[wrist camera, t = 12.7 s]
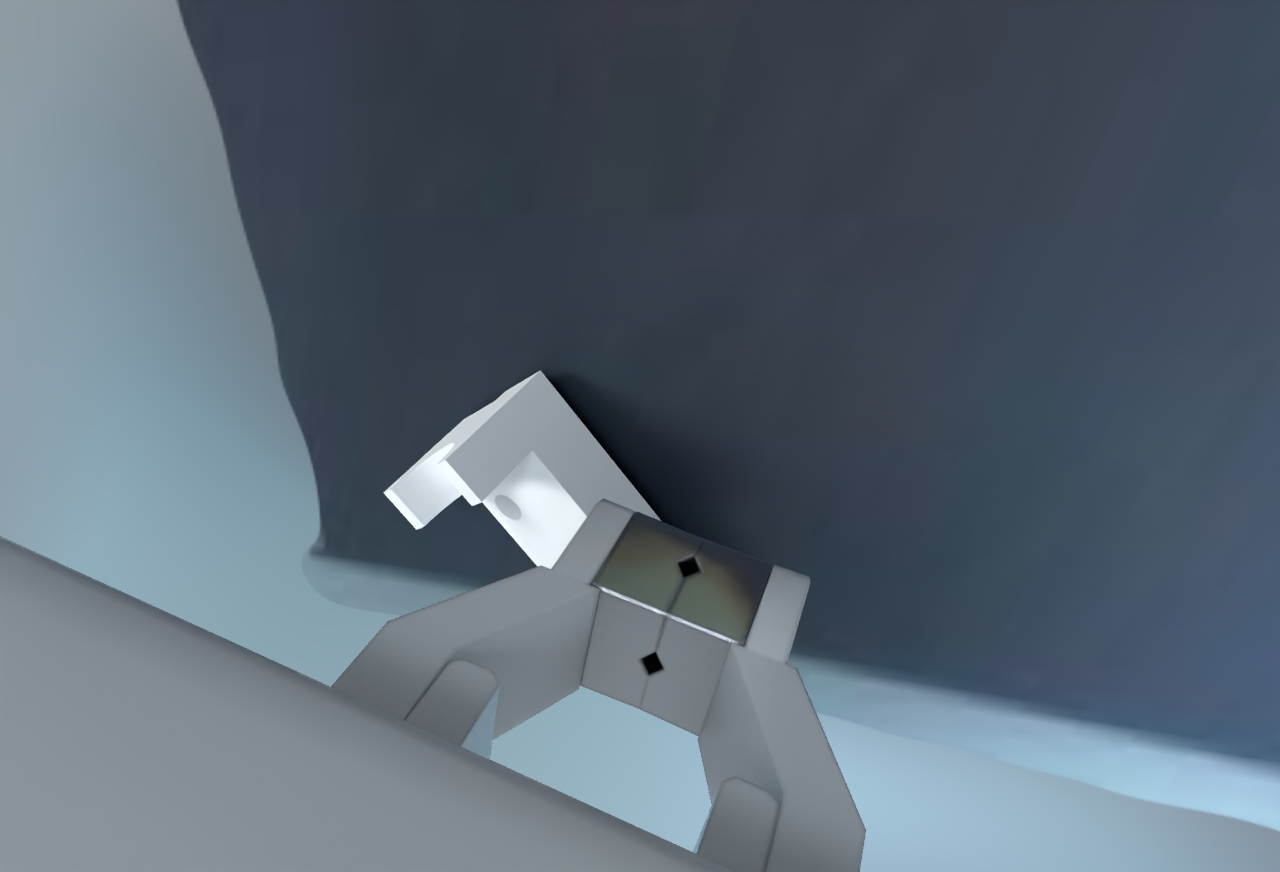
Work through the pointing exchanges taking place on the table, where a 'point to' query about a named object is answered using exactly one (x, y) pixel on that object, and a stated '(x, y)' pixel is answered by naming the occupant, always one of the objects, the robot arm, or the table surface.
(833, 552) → the table surface
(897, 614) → the table surface
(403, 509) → the bracket
